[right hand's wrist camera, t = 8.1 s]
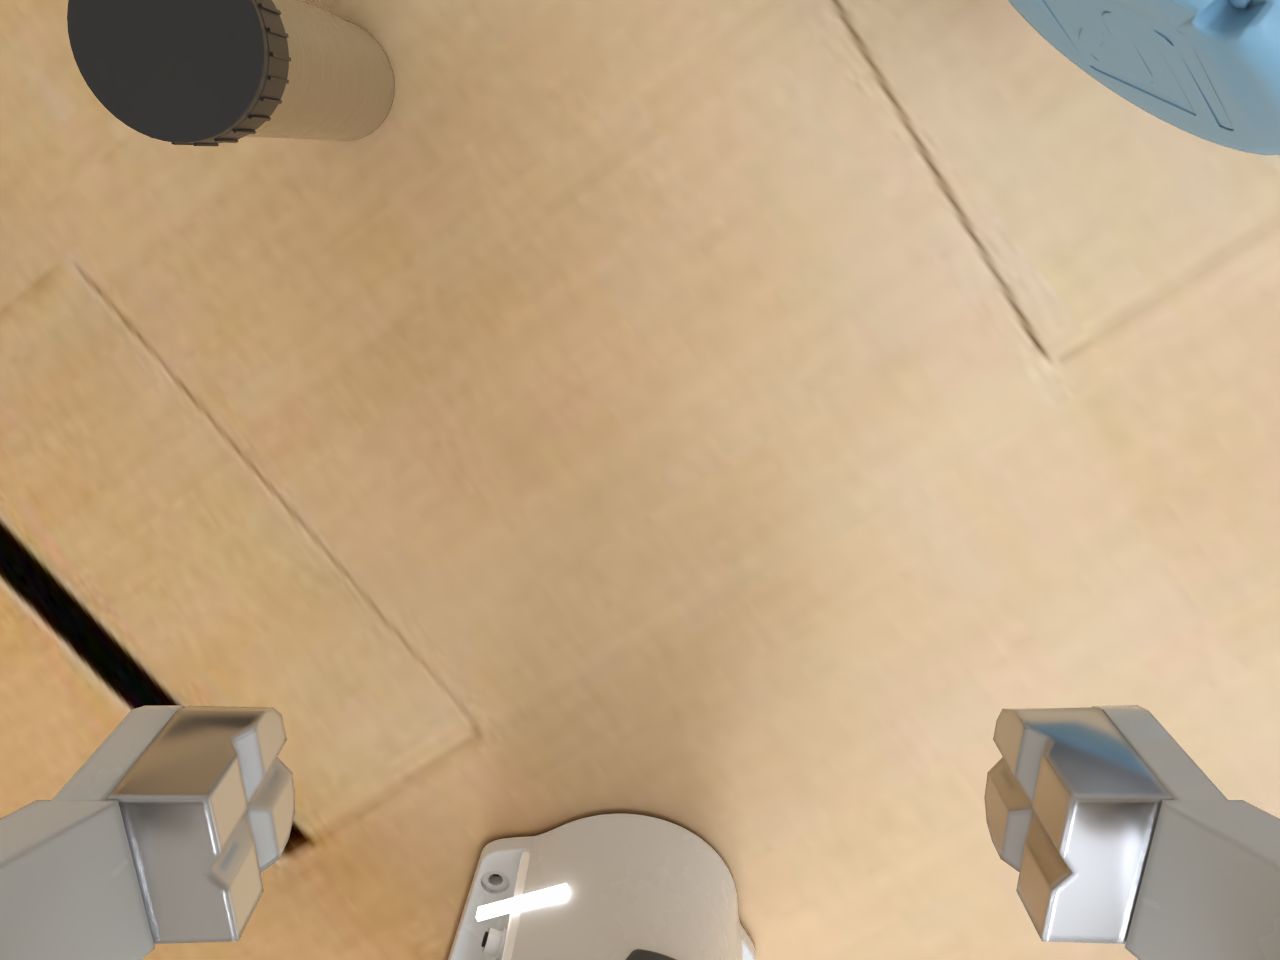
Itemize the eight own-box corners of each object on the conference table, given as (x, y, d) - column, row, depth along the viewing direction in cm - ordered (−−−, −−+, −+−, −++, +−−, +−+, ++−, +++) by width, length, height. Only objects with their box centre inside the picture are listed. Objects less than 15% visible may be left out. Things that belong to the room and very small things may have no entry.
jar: (267, 107, 41) (65, 82, 26) (305, -3, 40) (112, -93, 25) (370, 160, 42) (229, 164, 27) (411, 54, 40) (284, -2, 26)
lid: (82, 91, 28) (41, 87, 26) (135, -96, 26) (94, -117, 24) (257, 178, 29) (229, 180, 27) (318, 2, 27) (294, -10, 25)
